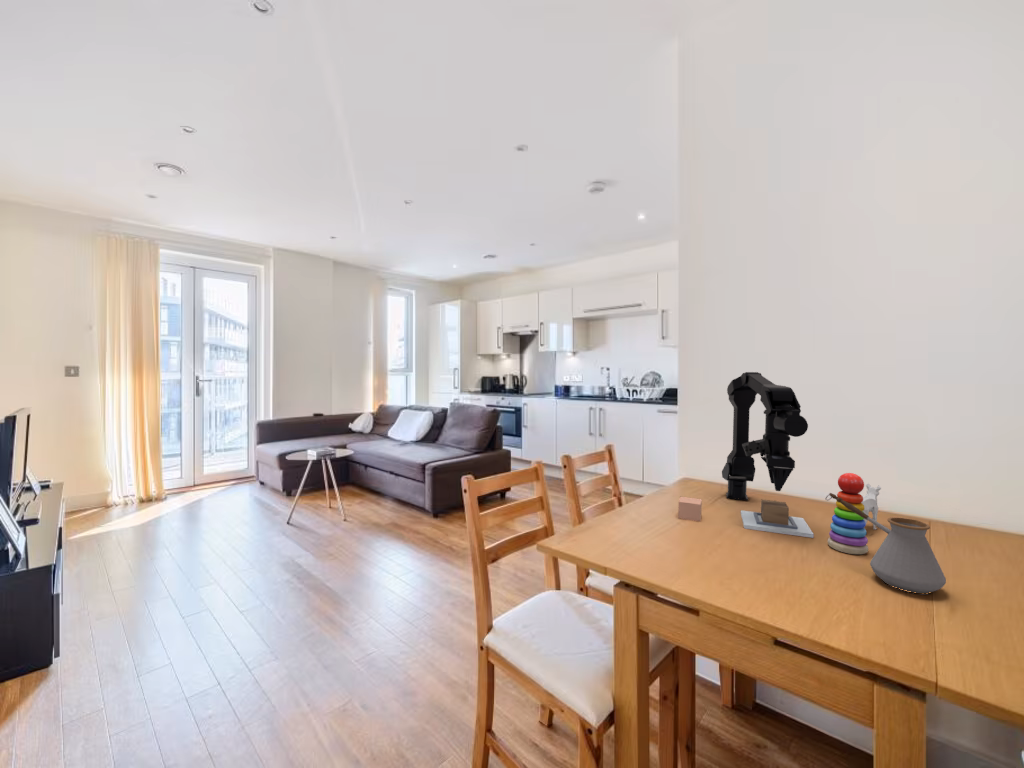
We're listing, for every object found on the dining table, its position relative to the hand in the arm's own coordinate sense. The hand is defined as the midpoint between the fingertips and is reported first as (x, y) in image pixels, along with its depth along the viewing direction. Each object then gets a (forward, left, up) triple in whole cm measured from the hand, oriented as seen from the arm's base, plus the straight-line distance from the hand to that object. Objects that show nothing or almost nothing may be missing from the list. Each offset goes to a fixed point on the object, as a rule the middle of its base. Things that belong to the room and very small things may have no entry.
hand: (775, 487), depth 123 cm
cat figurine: (-5, +21, -11) cm, 24 cm away
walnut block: (0, 0, -10) cm, 10 cm away
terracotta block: (+3, -22, -11) cm, 25 cm away
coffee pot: (+26, +16, -11) cm, 32 cm away
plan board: (0, 0, -11) cm, 11 cm away
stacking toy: (+12, +14, -11) cm, 21 cm away
